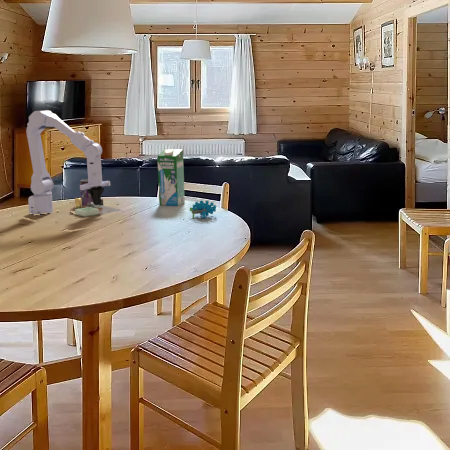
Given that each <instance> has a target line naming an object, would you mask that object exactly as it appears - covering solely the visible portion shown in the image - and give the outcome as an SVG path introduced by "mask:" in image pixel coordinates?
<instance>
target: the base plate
mask: <svg viewBox="0 0 450 450" xmlns="http://www.w3.org/2000/svg"><path fill="white" fill-rule="evenodd" d="M87 207H92V208H96V209H99V214H98V215H104V214H110V213H115V212H121V211H123V209H119V208H114V207H110V206H106V205H104V207H102V208H99V207H94V206H88V205H87V206H85V208H87ZM98 215H97V216H98ZM93 216H94V217H95V215H92V216H91V217H93ZM87 217H88V218H89V217H90V216H86V217H85V218H87Z"/></svg>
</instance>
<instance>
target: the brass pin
mask: <svg viewBox="0 0 450 450" xmlns="http://www.w3.org/2000/svg"><path fill="white" fill-rule="evenodd" d="M74 205H75V206H74V207H75V208H74V210H75V209H81V208H83V205H82V201H81V198H80V197H78V198H77V197H76V198H74Z"/></svg>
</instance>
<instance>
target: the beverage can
mask: <svg viewBox="0 0 450 450" xmlns="http://www.w3.org/2000/svg"><path fill="white" fill-rule="evenodd" d="M87 183H88V178H85V179H80V182H79V186H80V185H84V184H87ZM93 187H95V186H93ZM79 195H80V196H79V198H81V201H82V206H83V205H85V206H84V207H86V206H87V203H88V202H93V200H92V197H91V195H90V193H89V192H88V190H87V189H86V190H80V189H79Z"/></svg>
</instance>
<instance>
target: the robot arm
mask: <svg viewBox="0 0 450 450" xmlns="http://www.w3.org/2000/svg"><path fill="white" fill-rule="evenodd" d="M27 123H28V124H27V127H26V129H25V130H26V131H25V133H26V138H27V143H28V147H29V155H30V160H31V165H32V166H31V167H32V171H33V173H32V175H31V177H30V178H31V184H30V191H31V192H32V194H33V195H31V196H29V197H28V198H27V199H28V200H27V201H28V204H27V205H28V212H29V213H32V214H42V213H51V212H53V213H54V207H53V194H52V190H53V189H54V186H55V185H54V184H55V183H54V180H53V179H52V178H51V174H50V173H49V172H48V170H47V166H46V165H47V164H46V160H45V153H44V149H43V148H44V146H43V142H42V137H41V134H42V132H43V131H44V130H45V129H46V128H48V127H49V128H51V127H52V128H55V129H57V130H58V131H59V132H61V134H64V135H65V136H66V137H68V138H70V143H71V144H73V146H75V147H76V148H78V149H79V150H80V151H82V152H83V154H84V156H85V157H86V165H87V167H86V168H87V179H88V183H87V184H84V185H80V184H79V191H80V190H86V189H87V190H88V192H89V193H90V195H91V197H92V200H93V203H94V205H99V204H100V199H102V195H103V193H104V192H105V187H111V181H110V180H103V174H102V173H103V172H102V171H103V170H102V158H101V155H102V154H103V148H102V146H101V144H100V143H98V142H94V140H93V139H90V138H89V137H87V136H86V135H85V133H84V132H81V131H75V130H74V129H73V128H72V127H70V126H69V125H68V124H67V123H65V122H64V121H63V120H62V119H61V118H60V117H59V116H58V115H57V114H56V113H53V112H52V111H51V110H48V109H45V110H35V111H32V113H30V115H29V116H28V122H27ZM93 186H95V187H93ZM29 213H28V214H29ZM51 214H52V213H51Z"/></svg>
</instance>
